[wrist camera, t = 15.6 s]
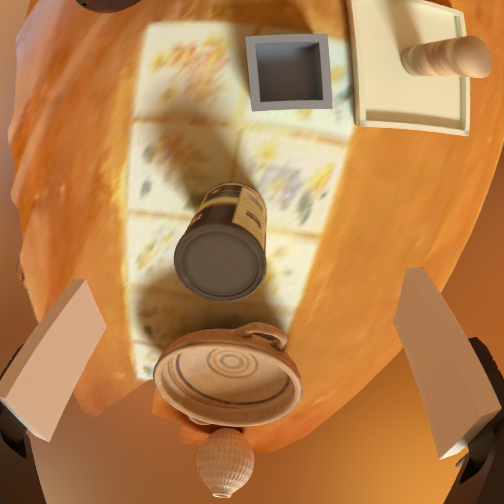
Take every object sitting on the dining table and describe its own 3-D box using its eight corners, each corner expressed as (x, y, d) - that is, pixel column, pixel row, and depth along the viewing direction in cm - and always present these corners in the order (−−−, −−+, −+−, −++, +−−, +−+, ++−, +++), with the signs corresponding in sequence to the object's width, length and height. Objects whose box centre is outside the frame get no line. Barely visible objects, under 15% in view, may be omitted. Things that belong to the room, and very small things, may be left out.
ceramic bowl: (198, 261, 50) (183, 299, 41) (340, 321, 55) (350, 361, 46) (149, 374, 67) (138, 406, 59) (254, 410, 72) (251, 442, 64)
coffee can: (191, 232, 47) (165, 285, 35) (211, 172, 42) (186, 209, 30) (253, 254, 48) (246, 313, 36) (278, 197, 43) (281, 244, 31)
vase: (263, 427, 77) (259, 495, 58) (246, 445, 85) (241, 504, 66) (209, 415, 75) (197, 485, 56) (198, 435, 83) (187, 494, 64)
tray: (344, -8, 27) (348, -14, 25) (454, 14, 26) (463, 12, 23) (354, 124, 37) (360, 126, 35) (459, 133, 36) (468, 136, 33)
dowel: (399, 44, 29) (457, 30, 17) (426, 49, 29) (490, 42, 16) (401, 74, 32) (461, 72, 19) (428, 78, 31) (493, 82, 18)
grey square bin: (249, 45, 33) (245, 36, 27) (317, 43, 32) (327, 34, 26) (255, 108, 37) (252, 111, 31) (322, 105, 36) (332, 108, 30)
